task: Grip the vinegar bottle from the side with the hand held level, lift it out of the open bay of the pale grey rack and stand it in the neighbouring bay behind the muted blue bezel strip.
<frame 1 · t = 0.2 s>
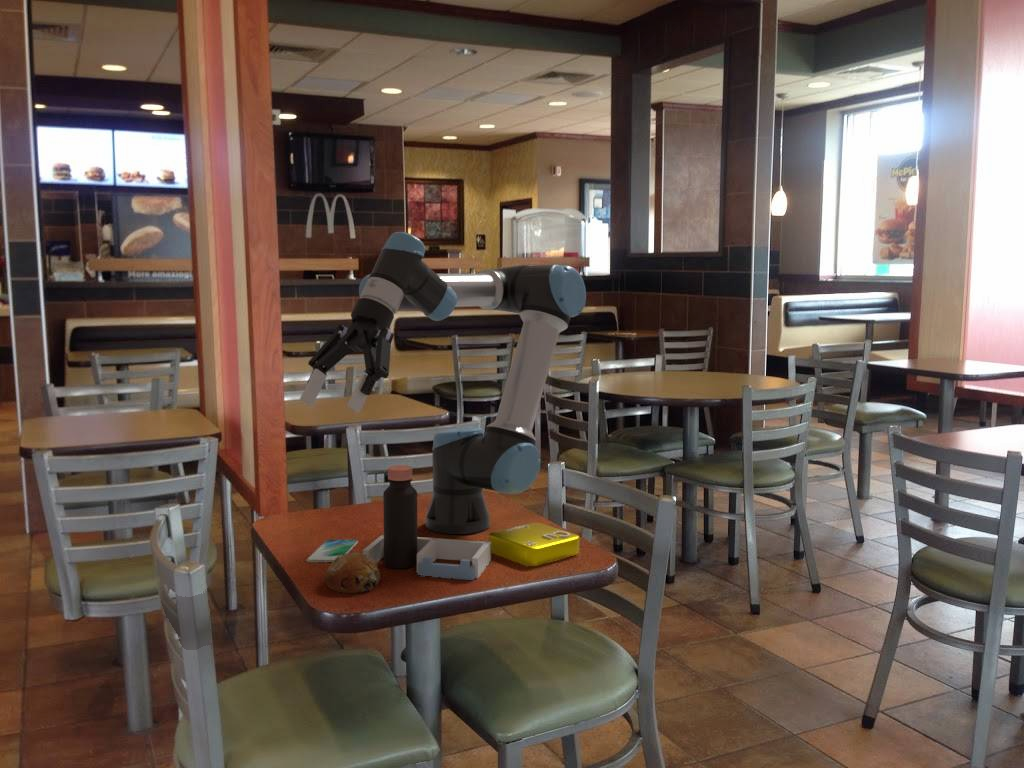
hand: (328, 406, 162), 35 cm above the table, tool tilted 35°, fingers open, 13 cm apart
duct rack: (427, 566, 181), on the table
vinegar: (400, 565, 182), on the table
element tile: (533, 555, 190), on the table
smartphone: (332, 554, 190), on the table
bread roll: (354, 586, 169), on the table
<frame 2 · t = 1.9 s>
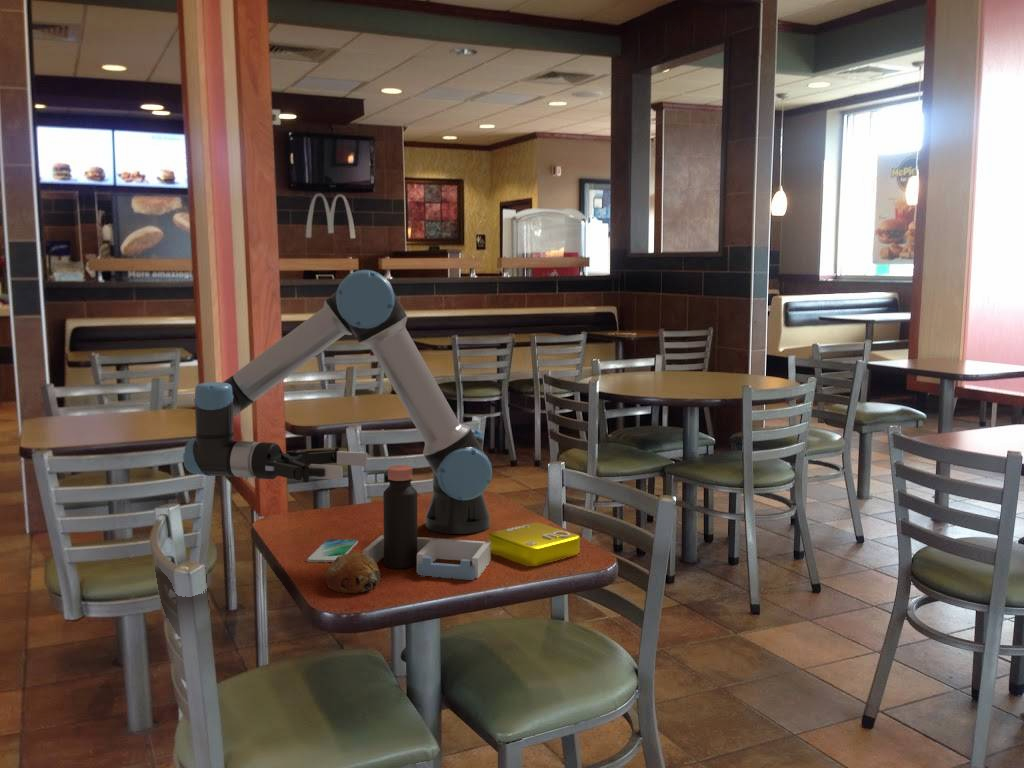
hand: (355, 465, 181), 20 cm above the table, tool horizontal, fingers open, 13 cm apart
nothing on the table moved.
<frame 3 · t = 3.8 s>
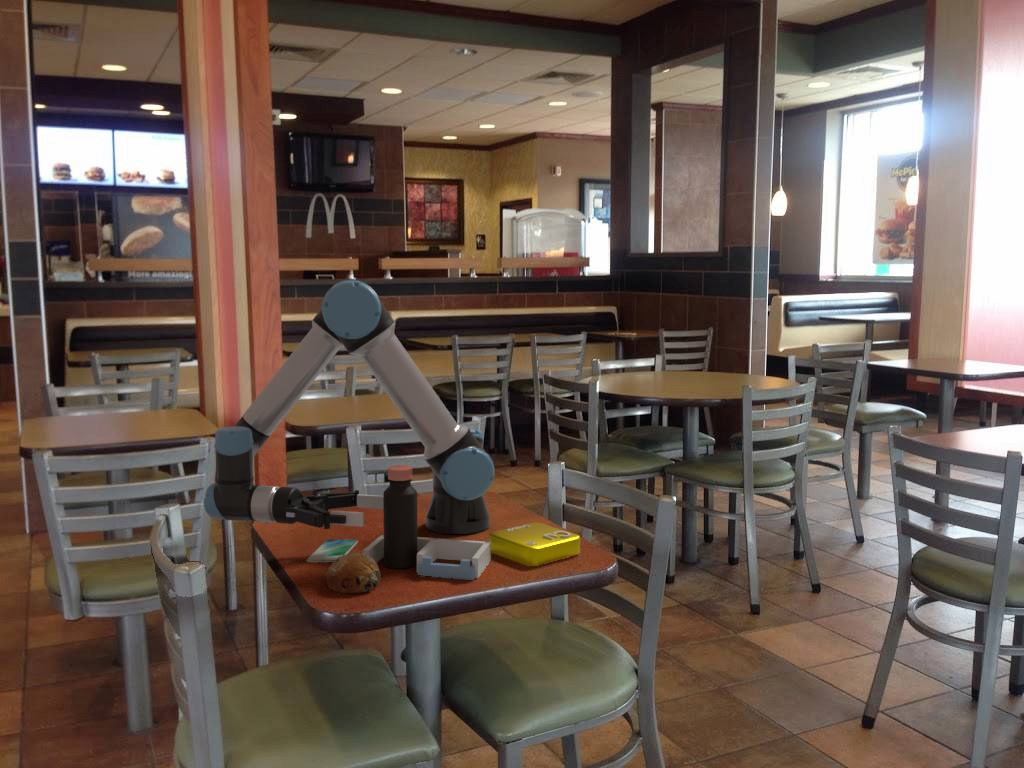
hand: (375, 510, 181), 11 cm above the table, tool horizontal, fingers open, 13 cm apart
nothing on the table moved.
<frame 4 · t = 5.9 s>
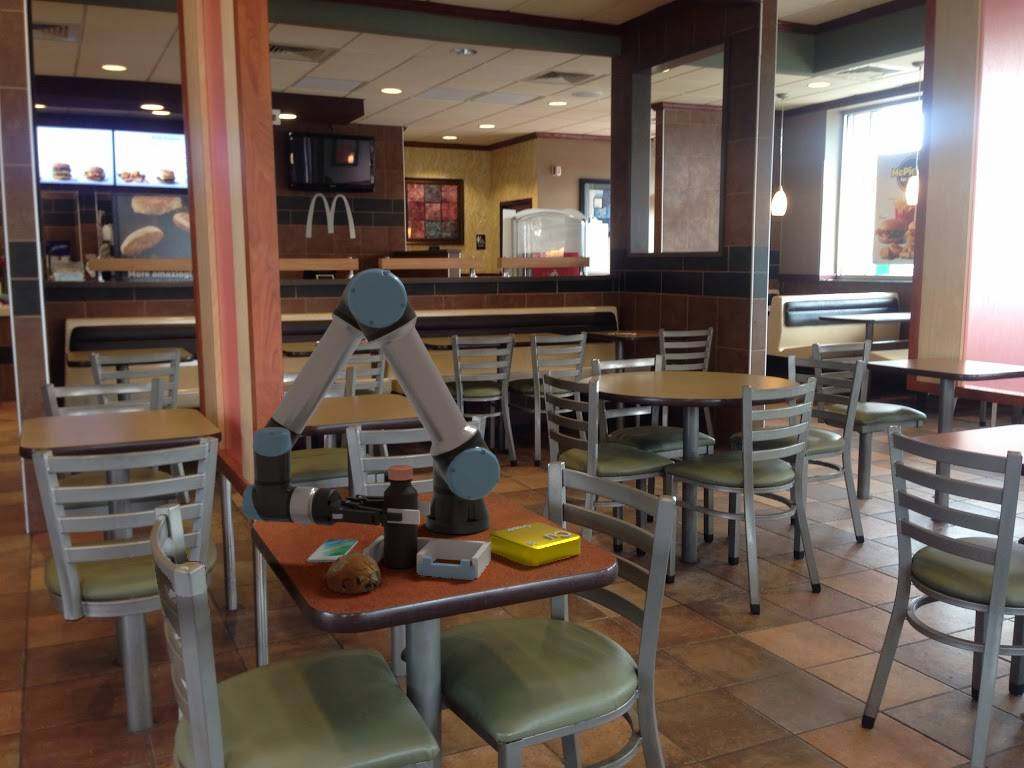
hand: (424, 512, 179), 11 cm above the table, tool horizontal, fingers closed on vinegar, 6 cm apart
vinegar: (400, 564, 182), on the table, touching gripper
everything else where it was.
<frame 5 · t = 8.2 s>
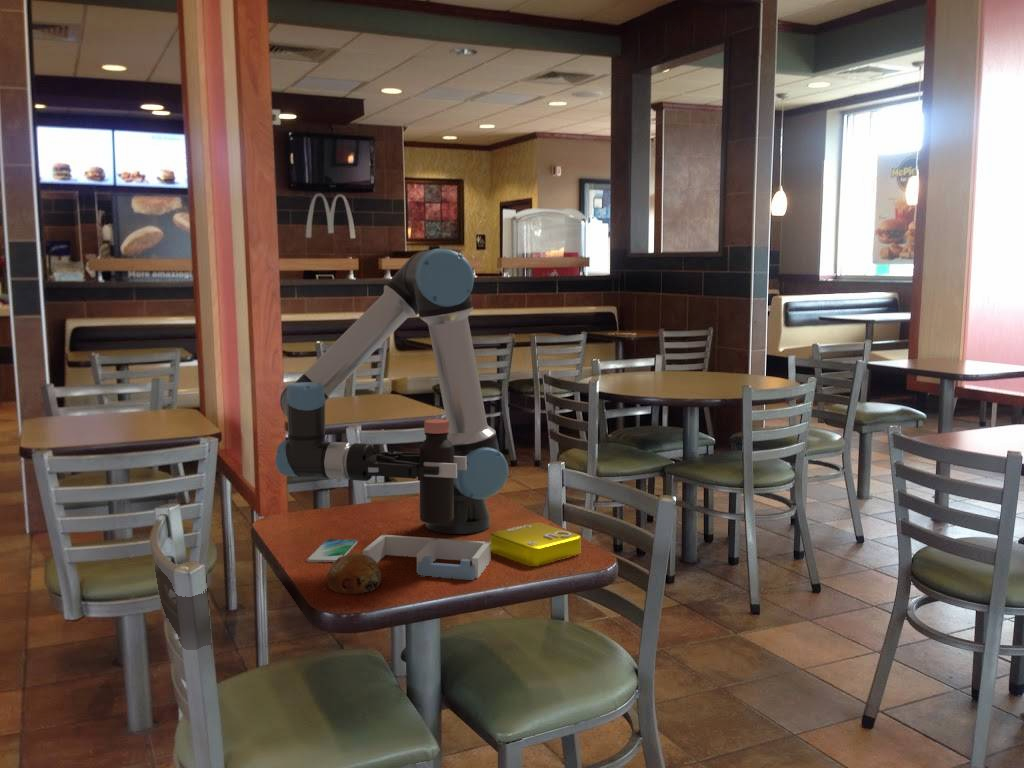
hand: (461, 467, 176), 21 cm above the table, tool horizontal, fingers closed on vinegar, 6 cm apart
vinegar: (436, 520, 179), point 10 cm above the table, touching gripper
everything else where it was.
when the fingers open (12 cm above the table, at t = 10.4 s): vinegar drops 1 cm, on the table.
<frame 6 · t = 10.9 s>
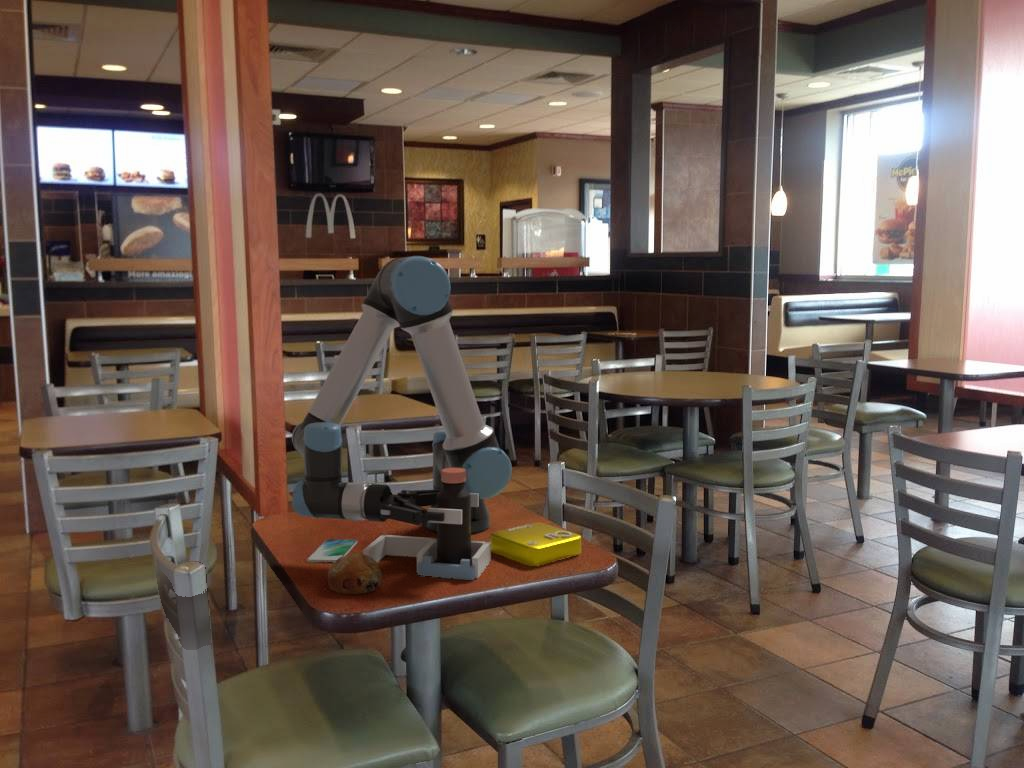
hand: (470, 508, 177), 12 cm above the table, tool horizontal, fingers open, 13 cm apart
vinegar: (454, 568, 180), on the table
everything else where it was.
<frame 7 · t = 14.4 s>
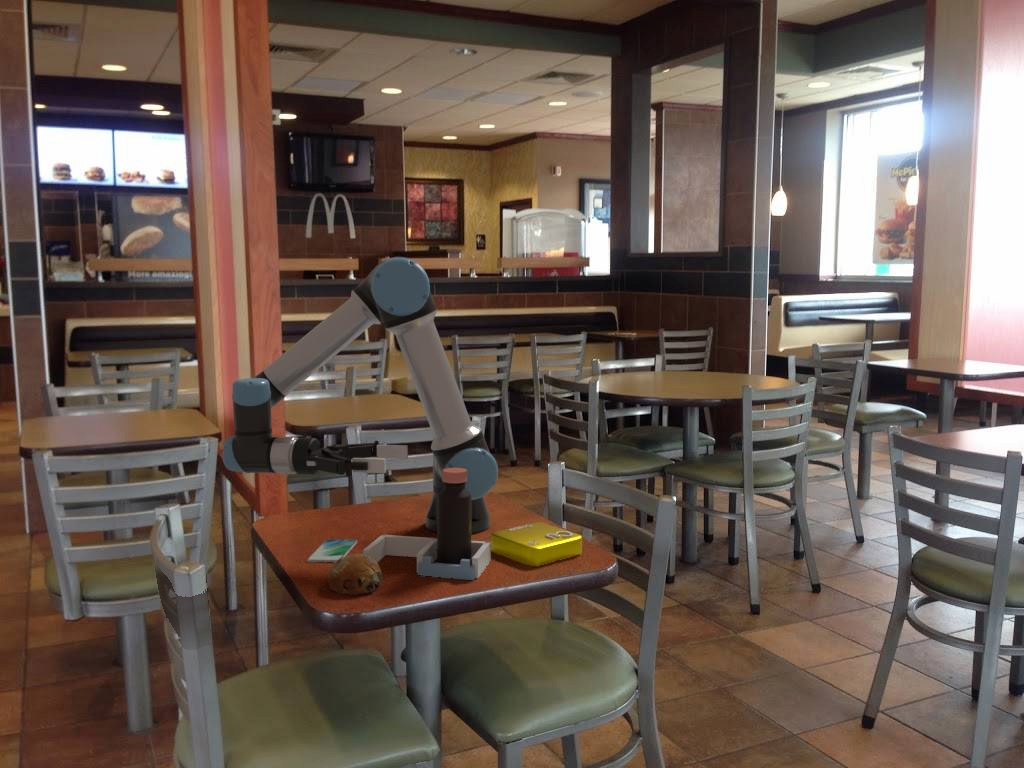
hand: (396, 458, 179), 22 cm above the table, tool horizontal, fingers open, 13 cm apart
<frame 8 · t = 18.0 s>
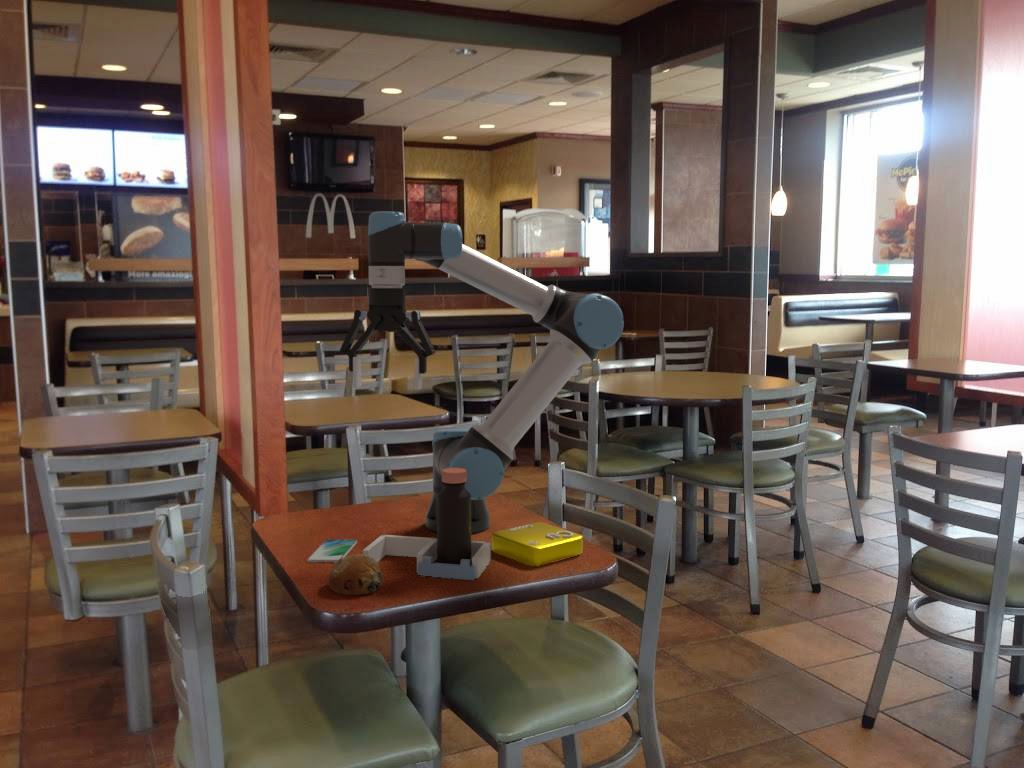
hand: (387, 388, 189), 35 cm above the table, tool pointing down, fingers open, 13 cm apart
at the end: vinegar 0.3 cm from the target spot, on the table; vinegar tilted 0°; the gripper is holding nothing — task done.
